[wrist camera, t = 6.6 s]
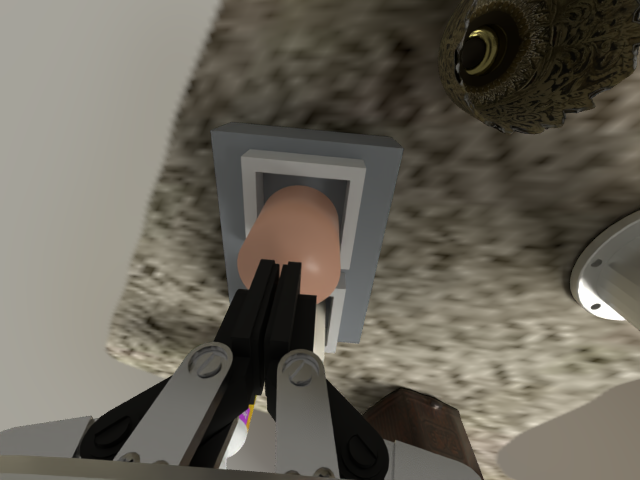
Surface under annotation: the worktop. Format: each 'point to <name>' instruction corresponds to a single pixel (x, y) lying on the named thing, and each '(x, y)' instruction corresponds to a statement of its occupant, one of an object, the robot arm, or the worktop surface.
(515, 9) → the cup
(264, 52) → the worktop surface
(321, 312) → the knob cream
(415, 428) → the dark brown coffee grinder
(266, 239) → the brown egg
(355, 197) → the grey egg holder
